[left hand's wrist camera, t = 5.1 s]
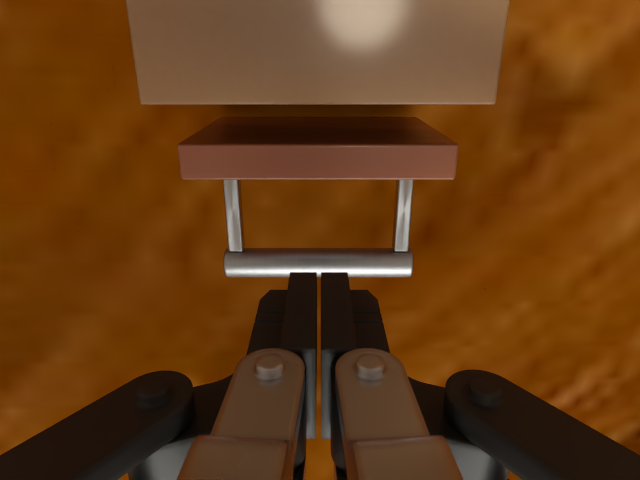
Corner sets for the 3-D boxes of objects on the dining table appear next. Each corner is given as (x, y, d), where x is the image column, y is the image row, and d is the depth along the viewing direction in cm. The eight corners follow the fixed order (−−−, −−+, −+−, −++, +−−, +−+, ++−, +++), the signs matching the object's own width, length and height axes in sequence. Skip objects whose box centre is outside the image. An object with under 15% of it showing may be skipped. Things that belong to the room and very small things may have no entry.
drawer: (407, 242, 23) (440, 312, 17) (229, 242, 23) (196, 312, 17) (450, -309, 15) (540, -561, 9) (185, -309, 15) (92, -562, 9)
